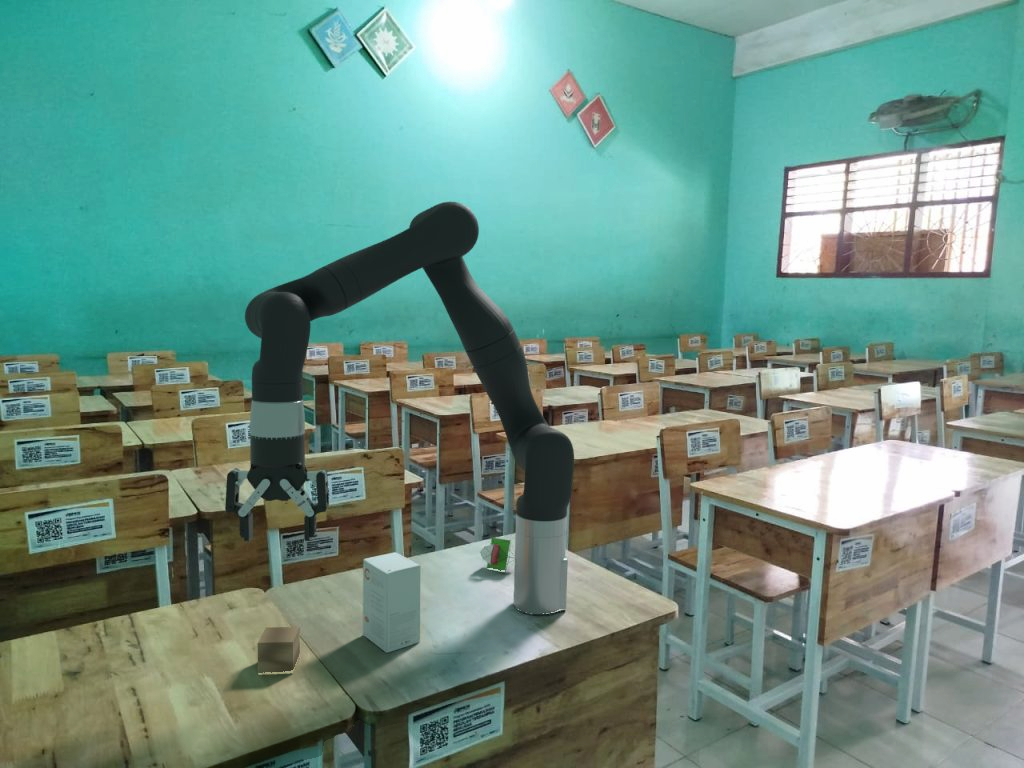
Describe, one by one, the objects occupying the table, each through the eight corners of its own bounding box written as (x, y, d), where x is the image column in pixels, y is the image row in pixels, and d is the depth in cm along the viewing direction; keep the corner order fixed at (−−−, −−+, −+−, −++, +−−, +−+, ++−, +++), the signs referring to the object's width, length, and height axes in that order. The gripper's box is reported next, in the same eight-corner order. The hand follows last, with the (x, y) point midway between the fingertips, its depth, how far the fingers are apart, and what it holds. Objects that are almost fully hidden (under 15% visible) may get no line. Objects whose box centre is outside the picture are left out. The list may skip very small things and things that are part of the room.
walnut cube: (299, 657, 109) (299, 626, 108) (293, 674, 104) (292, 641, 103) (266, 658, 108) (265, 627, 108) (258, 675, 103) (257, 642, 103)
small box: (420, 642, 114) (421, 564, 113) (386, 654, 110) (386, 573, 109) (395, 625, 121) (396, 550, 119) (361, 635, 117) (361, 558, 115)
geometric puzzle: (494, 549, 153) (485, 527, 148) (523, 554, 150) (515, 531, 145) (482, 578, 148) (472, 555, 143) (512, 583, 146) (503, 561, 141)
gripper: (332, 427, 107) (331, 531, 108) (234, 425, 105) (235, 531, 107) (323, 436, 99) (323, 548, 101) (218, 434, 98) (220, 548, 99)
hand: (278, 539), depth 104 cm, fingers open, 8 cm apart
